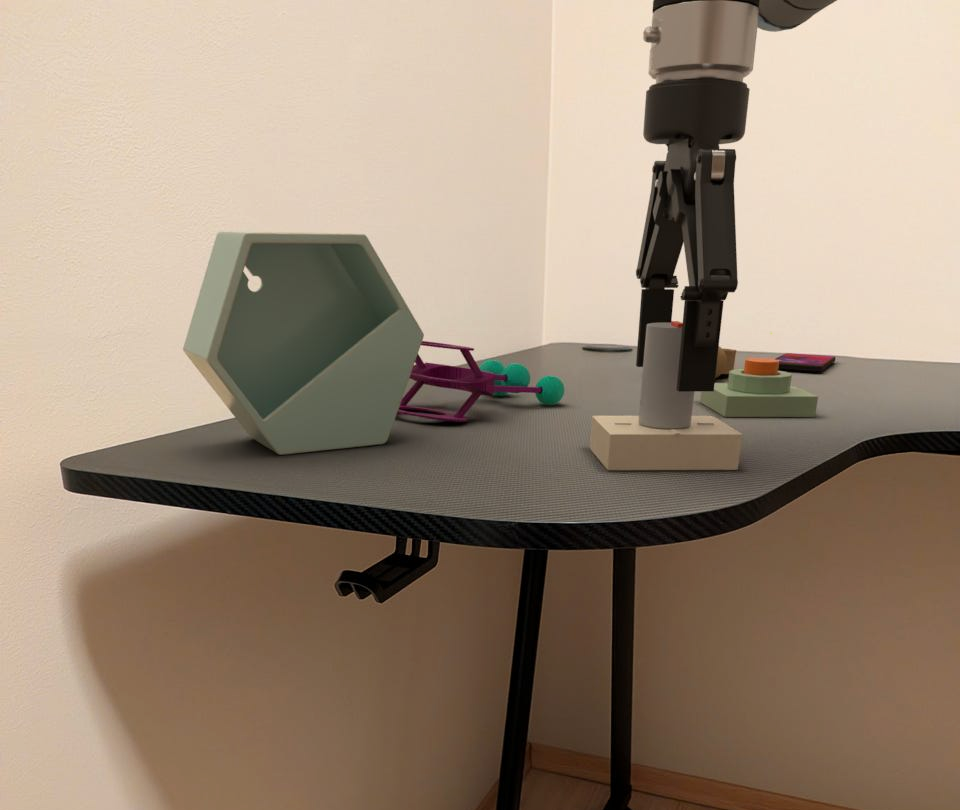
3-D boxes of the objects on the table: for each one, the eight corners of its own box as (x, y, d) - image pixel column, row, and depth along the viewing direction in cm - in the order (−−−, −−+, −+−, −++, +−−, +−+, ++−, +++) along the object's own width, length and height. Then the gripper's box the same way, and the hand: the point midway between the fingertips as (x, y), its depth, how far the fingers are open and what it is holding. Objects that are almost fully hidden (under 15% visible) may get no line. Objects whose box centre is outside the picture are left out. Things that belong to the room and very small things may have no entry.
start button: (769, 374, 102) (772, 357, 101) (781, 378, 99) (784, 362, 98) (738, 373, 102) (740, 357, 101) (749, 378, 98) (751, 362, 98)
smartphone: (837, 356, 140) (822, 366, 128) (836, 362, 140) (821, 372, 128) (785, 352, 143) (766, 362, 131) (784, 358, 143) (765, 368, 131)
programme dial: (633, 418, 79) (641, 318, 76) (682, 418, 79) (693, 318, 76) (645, 428, 75) (654, 323, 72) (697, 429, 76) (708, 324, 72)
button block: (783, 402, 106) (789, 367, 104) (815, 417, 98) (821, 379, 96) (700, 402, 105) (704, 366, 104) (724, 417, 97) (729, 378, 96)
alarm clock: (741, 349, 129) (728, 339, 115) (736, 385, 130) (723, 380, 116) (663, 344, 132) (641, 334, 119) (658, 379, 134) (637, 374, 120)
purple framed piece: (569, 421, 102) (578, 356, 100) (438, 421, 89) (445, 346, 86) (492, 406, 110) (498, 345, 108) (361, 404, 97) (365, 335, 94)
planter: (315, 502, 81) (159, 299, 68) (286, 482, 87) (137, 292, 75) (454, 385, 84) (328, 169, 71) (416, 373, 90) (294, 173, 77)
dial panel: (707, 448, 83) (712, 413, 82) (739, 471, 75) (744, 432, 74) (589, 448, 82) (591, 413, 81) (608, 471, 74) (611, 432, 73)
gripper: (613, 102, 78) (598, 358, 87) (697, 50, 55) (666, 404, 64) (698, 103, 79) (675, 358, 87) (816, 53, 56) (769, 403, 65)
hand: (671, 378), depth 76 cm, fingers open, 13 cm apart
